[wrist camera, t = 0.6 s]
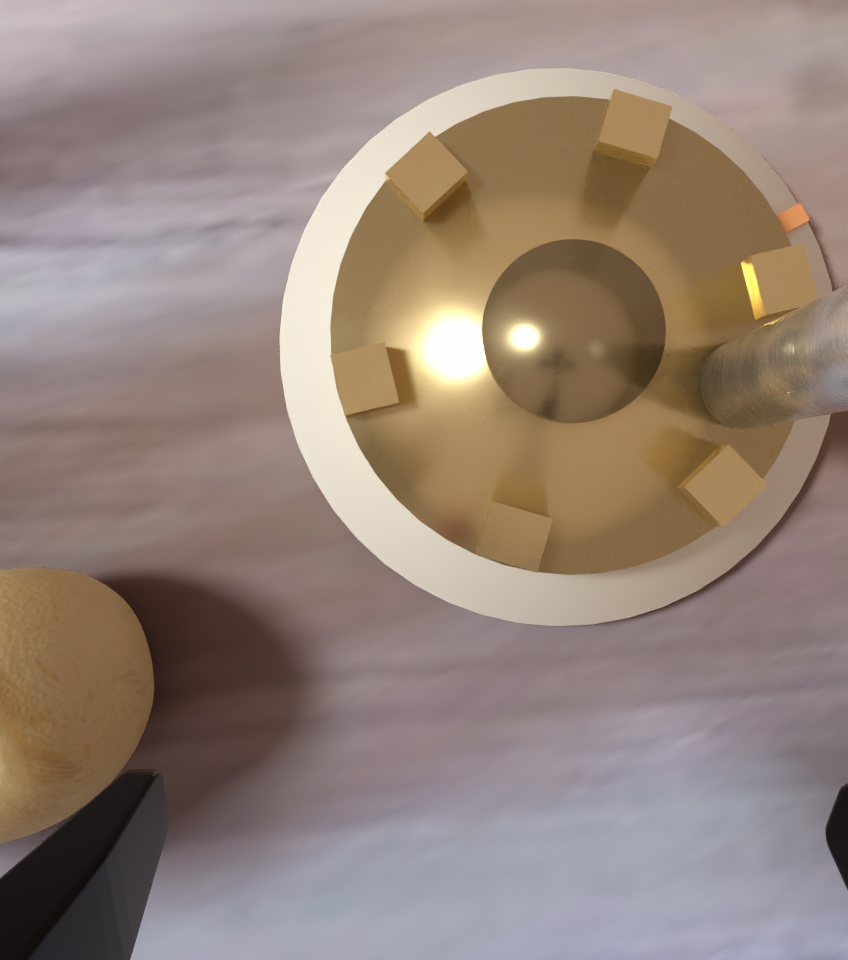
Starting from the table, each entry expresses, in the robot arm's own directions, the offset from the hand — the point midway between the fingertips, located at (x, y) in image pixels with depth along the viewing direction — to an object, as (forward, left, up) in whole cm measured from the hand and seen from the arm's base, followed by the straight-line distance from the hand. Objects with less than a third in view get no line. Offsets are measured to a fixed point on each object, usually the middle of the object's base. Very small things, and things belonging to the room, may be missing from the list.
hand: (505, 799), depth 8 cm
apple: (+1, +14, -15) cm, 20 cm away
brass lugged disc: (+8, -6, -14) cm, 18 cm away
